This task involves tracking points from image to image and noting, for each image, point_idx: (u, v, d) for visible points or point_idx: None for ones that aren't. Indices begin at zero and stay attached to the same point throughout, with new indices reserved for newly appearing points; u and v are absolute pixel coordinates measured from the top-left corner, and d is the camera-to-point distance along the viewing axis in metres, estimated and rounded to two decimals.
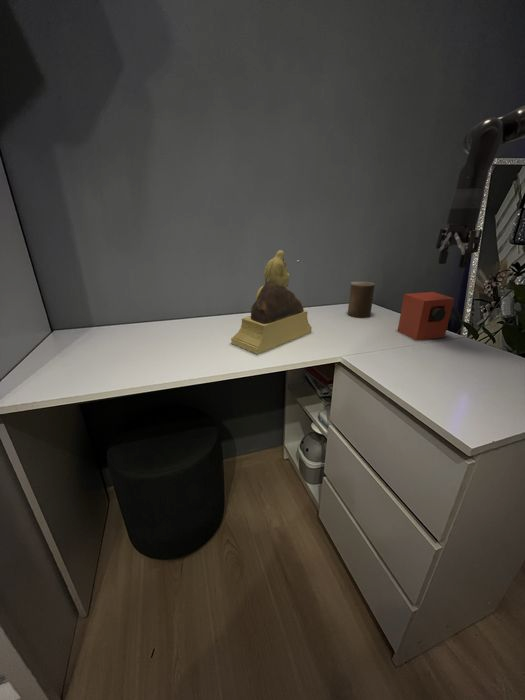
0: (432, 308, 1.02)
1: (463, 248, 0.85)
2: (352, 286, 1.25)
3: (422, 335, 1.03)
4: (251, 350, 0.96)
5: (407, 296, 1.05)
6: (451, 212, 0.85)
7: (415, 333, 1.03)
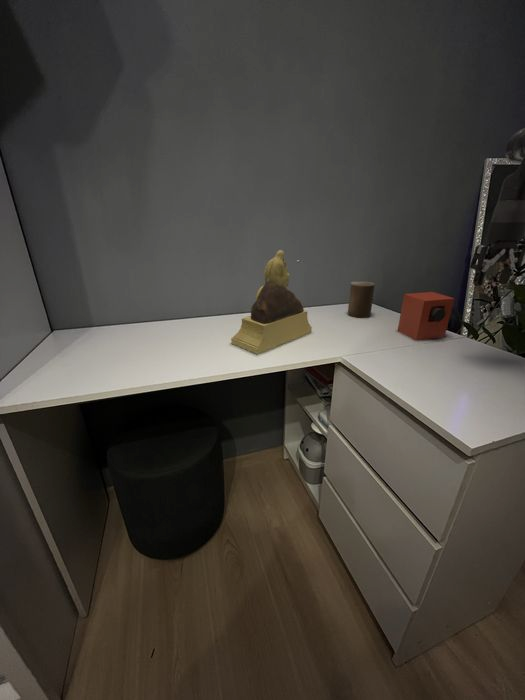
0: (432, 308, 1.02)
1: None
2: (352, 286, 1.25)
3: (422, 335, 1.03)
4: (251, 350, 0.96)
5: (407, 296, 1.05)
6: None
7: (415, 333, 1.03)
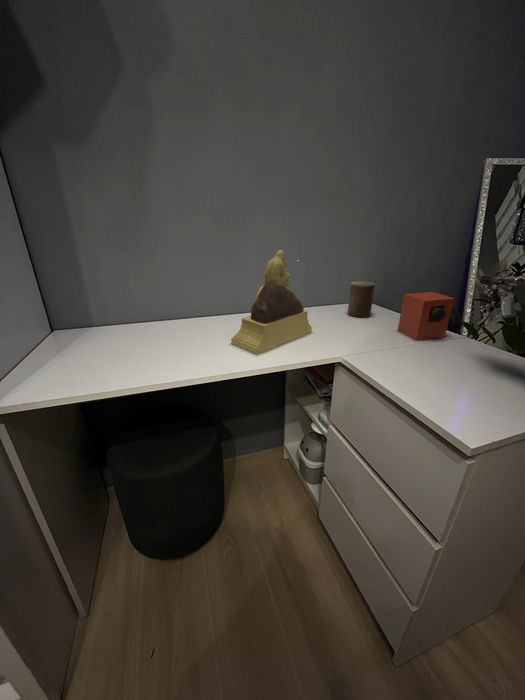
0: (432, 308, 1.02)
1: (497, 278, 0.79)
2: (352, 286, 1.25)
3: (422, 335, 1.03)
4: (251, 350, 0.96)
5: (407, 296, 1.05)
6: None
7: (415, 333, 1.03)
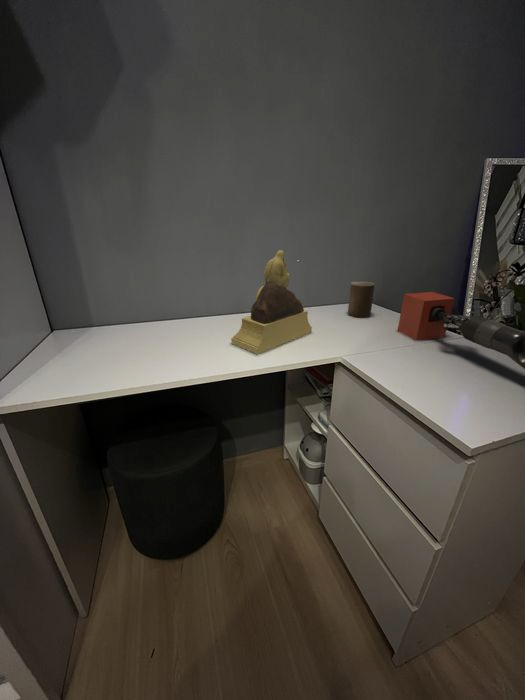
0: (432, 308, 1.02)
1: (449, 316, 0.95)
2: (352, 286, 1.25)
3: (422, 335, 1.03)
4: (251, 350, 0.95)
5: (407, 296, 1.05)
6: (487, 319, 0.85)
7: (415, 333, 1.03)
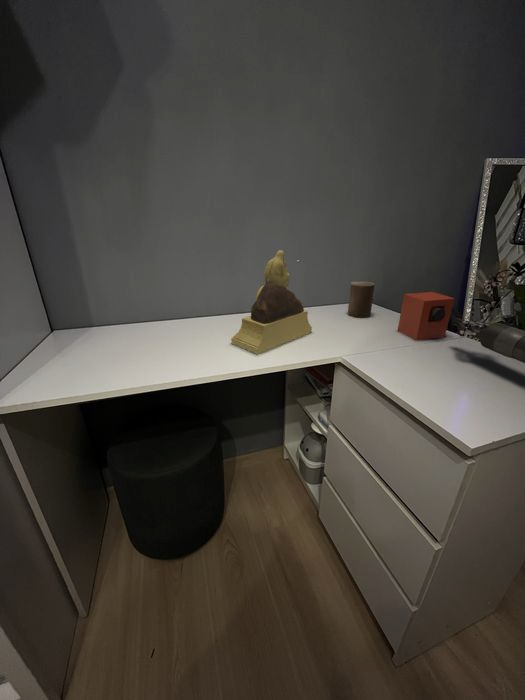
0: (432, 308, 1.02)
1: (465, 323, 0.89)
2: (352, 286, 1.25)
3: (422, 335, 1.03)
4: (251, 350, 0.95)
5: (407, 296, 1.05)
6: (508, 326, 0.79)
7: (415, 333, 1.03)
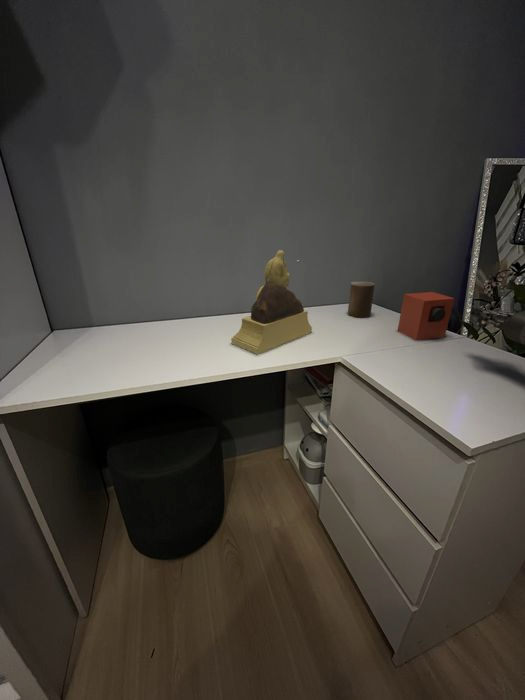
0: (432, 308, 1.02)
1: (487, 312, 0.82)
2: (352, 286, 1.25)
3: (422, 335, 1.03)
4: (251, 350, 0.95)
5: (407, 296, 1.05)
6: None
7: (415, 333, 1.03)
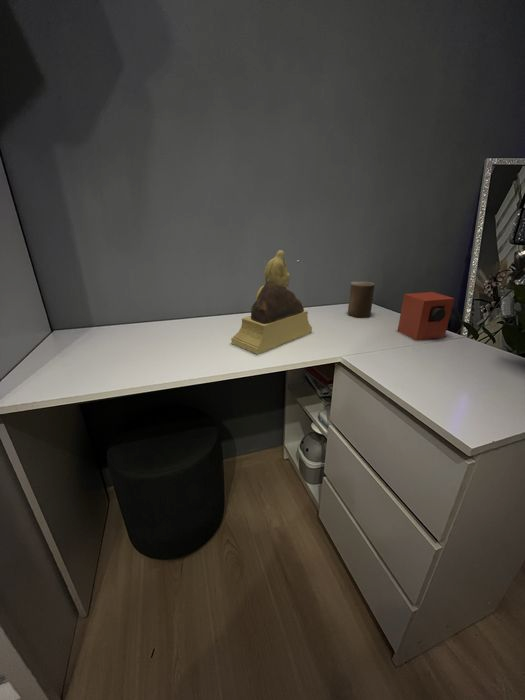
0: (432, 308, 1.02)
1: None
2: (352, 286, 1.25)
3: (422, 335, 1.03)
4: (251, 350, 0.95)
5: (407, 296, 1.05)
6: None
7: (415, 333, 1.03)
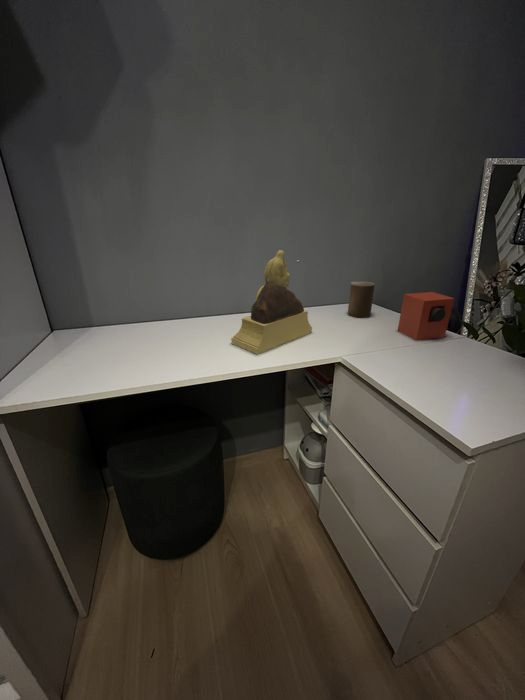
0: (432, 308, 1.02)
1: None
2: (352, 286, 1.25)
3: (422, 335, 1.03)
4: (251, 350, 0.95)
5: (407, 296, 1.05)
6: None
7: (415, 333, 1.03)
